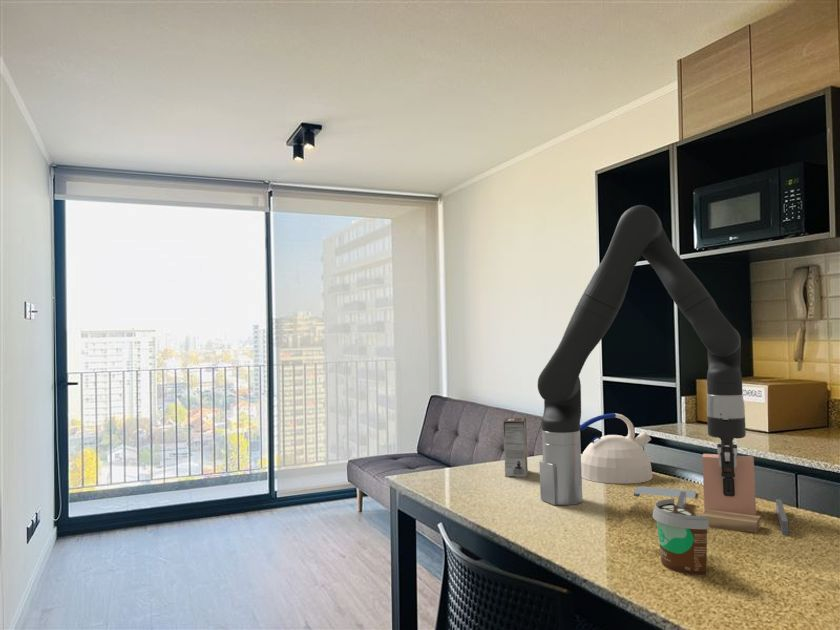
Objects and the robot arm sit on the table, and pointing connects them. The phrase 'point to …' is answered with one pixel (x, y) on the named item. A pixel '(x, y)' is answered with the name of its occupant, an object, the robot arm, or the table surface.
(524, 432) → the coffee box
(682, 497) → the rack
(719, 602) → the table surface
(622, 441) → the kettle
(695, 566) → the food container
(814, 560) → the table surface
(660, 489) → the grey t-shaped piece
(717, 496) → the tall sheet
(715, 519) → the offcut top
